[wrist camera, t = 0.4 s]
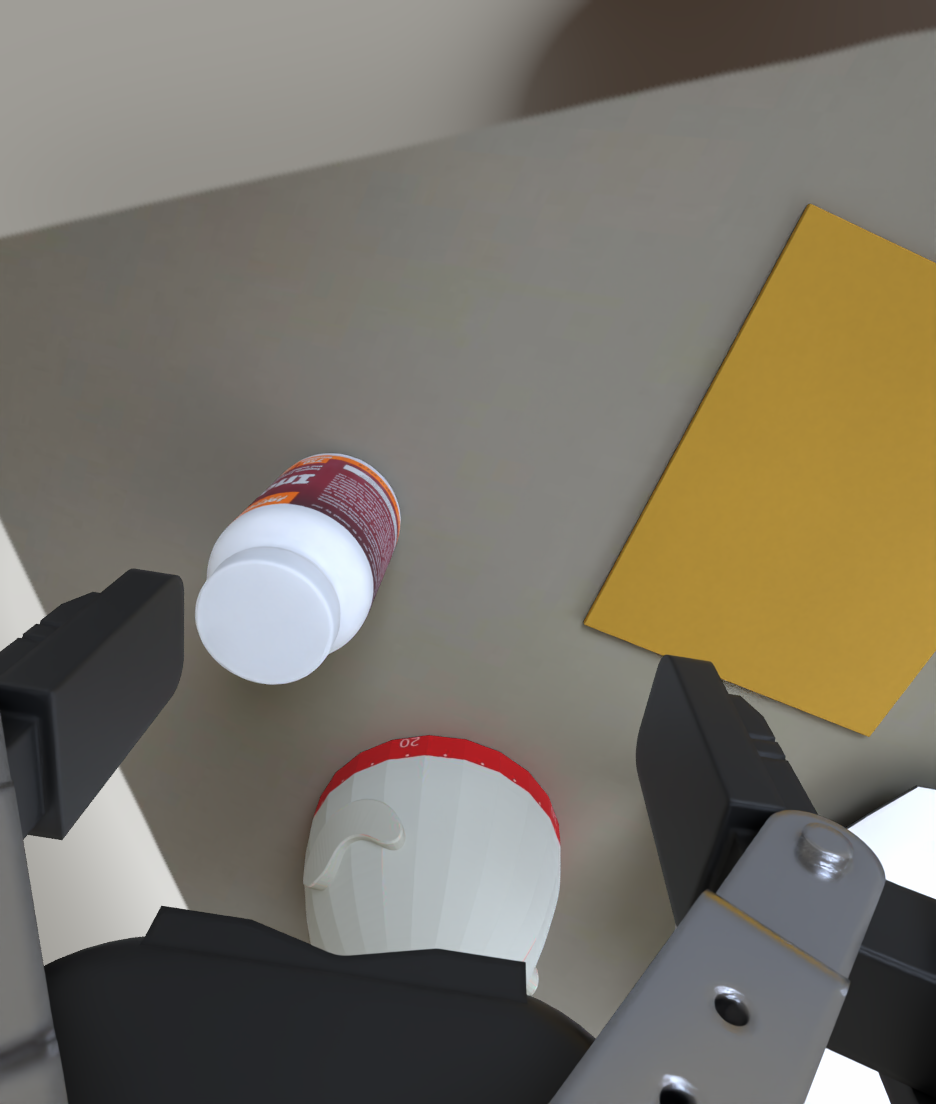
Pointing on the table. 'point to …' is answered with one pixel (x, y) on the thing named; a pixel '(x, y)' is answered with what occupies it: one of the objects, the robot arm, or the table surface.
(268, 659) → the pill bottle
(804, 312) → the cloth
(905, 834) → the plate
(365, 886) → the kitchen timer
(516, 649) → the table surface
